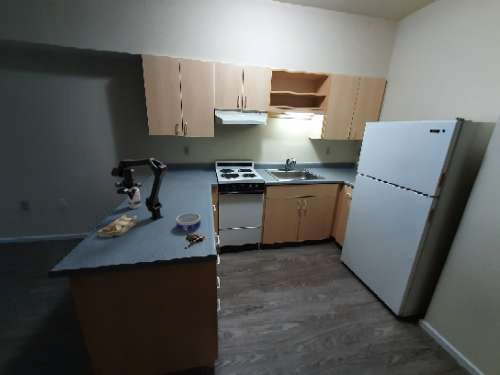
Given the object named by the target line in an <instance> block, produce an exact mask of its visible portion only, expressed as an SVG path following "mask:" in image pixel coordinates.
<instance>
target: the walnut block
mask: <svg viewBox="0 0 500 375" xmlns="http://www.w3.org/2000/svg"><path fill="white" fill-rule="evenodd" d="M101 229H102V230H103V232H112V231H117V228H116V224H111V223H109V224H108V225H106V226H104V227H103V228H101Z"/></svg>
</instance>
